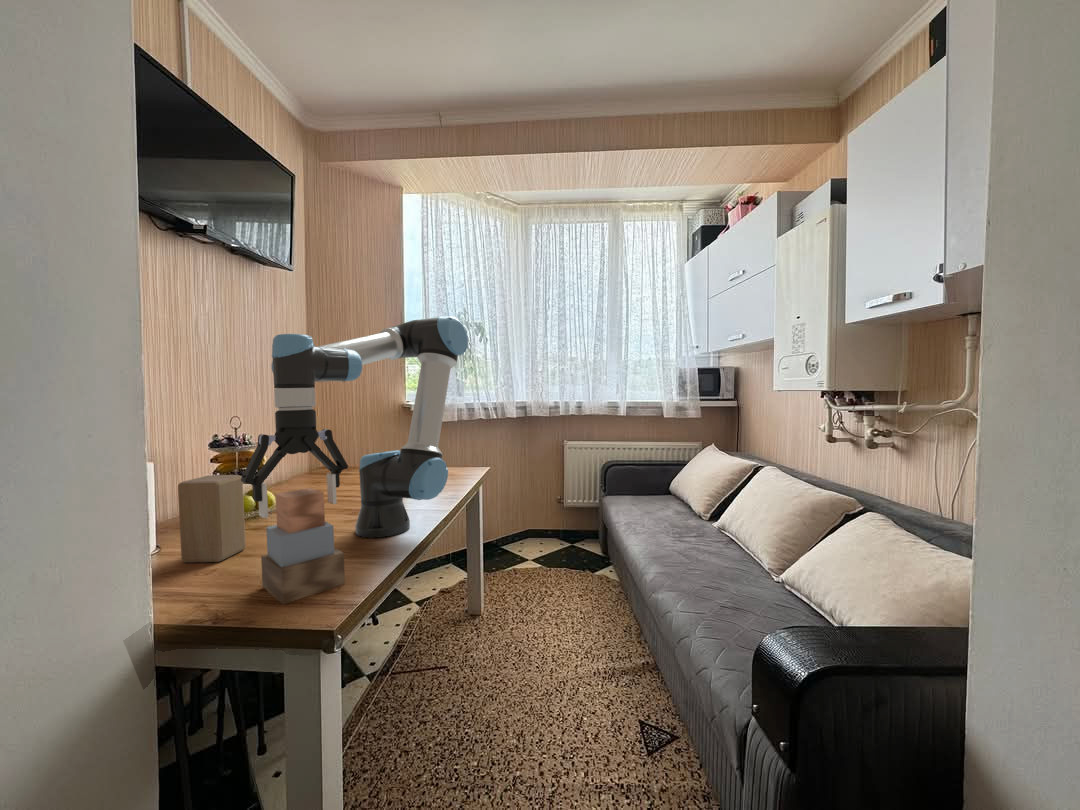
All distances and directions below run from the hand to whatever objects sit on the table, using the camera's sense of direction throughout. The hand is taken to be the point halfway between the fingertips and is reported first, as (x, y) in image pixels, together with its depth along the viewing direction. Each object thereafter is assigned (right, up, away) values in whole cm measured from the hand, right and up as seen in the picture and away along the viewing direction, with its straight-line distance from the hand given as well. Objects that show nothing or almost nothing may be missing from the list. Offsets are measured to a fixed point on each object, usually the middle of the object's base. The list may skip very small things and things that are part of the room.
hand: (299, 509), depth 95 cm
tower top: (0, -10, 0) cm, 10 cm away
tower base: (+1, -16, 0) cm, 17 cm away
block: (-32, -17, +20) cm, 41 cm away
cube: (0, -4, 0) cm, 4 cm away
